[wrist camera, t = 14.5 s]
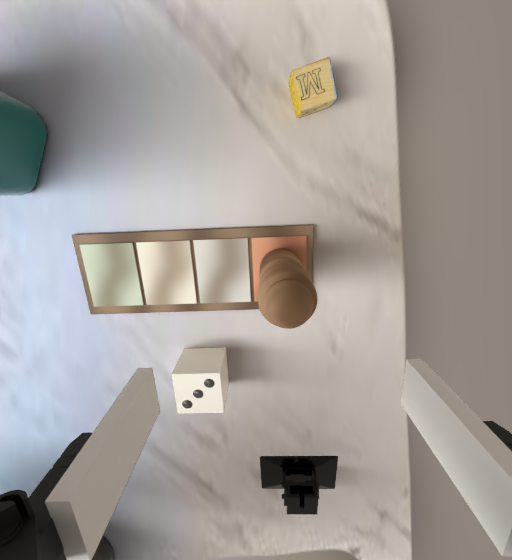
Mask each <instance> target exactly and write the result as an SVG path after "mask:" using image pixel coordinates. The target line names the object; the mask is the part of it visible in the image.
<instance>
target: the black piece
mask: <svg viewBox="0 0 512 560" xmlns="http://www.w3.org/2000/svg"><path fill="white" fill-rule="evenodd" d="M337 461H338V456H261V457H260V466H261V481H262V488H265V489H283V494H282V499H284V506H286V508H287V514H317V506H318V499H319V489H334V488H335V480H336V471H337Z"/></svg>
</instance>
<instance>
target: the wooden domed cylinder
mask: <svg viewBox="0 0 512 560" xmlns="http://www.w3.org/2000/svg"><path fill="white" fill-rule="evenodd" d="M258 304H259V309H260V311H261V313H262V315H263V316H264V317H265V318H266V319H267V320H268V321H269V322H270V323H272V324H274V325H276V326H279V327H282V328H295V327H298V326H300V325H302V324H303V323H305V322H306V321H307V320H308V319H309V318H310V317H311V316H312V314H313V313H314V311H315V309H316V305H317V293H316V290H315V288H314V286H313V284H312V282H311V280H310V279H309V277H308V275H307V273H306V271H305V269H304V267H303V265H302V263H301V261H300V260H299V258H298V256H297V255H296V254H295V253H294V252H292V251H290V250H288V249H284V248H279V249H274V250H272V251H270V252H268V253H267V254H266V255H265V256H264V257H263V259H262V261H261V263H260V273H259V295H258Z"/></svg>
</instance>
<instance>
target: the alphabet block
mask: <svg viewBox="0 0 512 560" xmlns="http://www.w3.org/2000/svg"><path fill="white" fill-rule="evenodd" d="M289 86H290V91H291V95H292V99H293V103H294V108H295V112H296V117H297V118H300V117H303V116H305V115H308V114H311V113H314V112H317V111H320V110H323V109H326V108H329V107H330V106H331V105H332V104H333V103H334V102H335V100H336V99H337V94H336V88H335V83H334V77H333V72H332V67H331V60H330V57H328V58H325V59H323V60H320V61H317V62H314V63H312V64H309V65H306V66H303V67H301V68H298V69H295V70H293V71H292V72H291V76H290V80H289Z"/></svg>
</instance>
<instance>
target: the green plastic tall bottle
mask: <svg viewBox="0 0 512 560" xmlns="http://www.w3.org/2000/svg"><path fill="white" fill-rule="evenodd" d="M46 139H47V131H46V126H45V124H44V122H43V120H42V118H41V116H40V115H39V114H38V113H37V112H36V111H35V110H34V109H33V108H32V107H30V106H28V105H26V104H24V103H22V102H20V101H18V100H16V99H15V98H13V97H11V96H9V95H7V94H5V93H3V92H1V91H0V196H7V195H24V194H26V193H29V192H31V191H32V189H33V188H34V187H35V186H36V182H37V177H38V173H39V169H40V164H41V160H42V156H43V152H44V147H45V143H46Z"/></svg>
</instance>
